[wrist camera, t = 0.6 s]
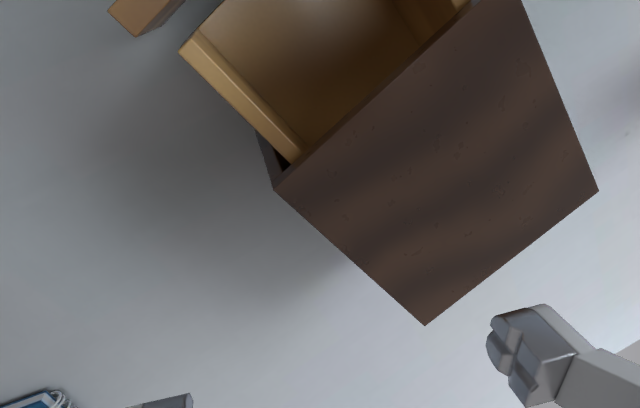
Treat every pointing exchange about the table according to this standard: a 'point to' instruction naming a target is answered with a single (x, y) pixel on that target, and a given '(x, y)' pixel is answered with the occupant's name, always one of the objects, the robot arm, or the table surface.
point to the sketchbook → (41, 401)
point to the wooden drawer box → (445, 162)
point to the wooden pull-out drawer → (296, 55)
